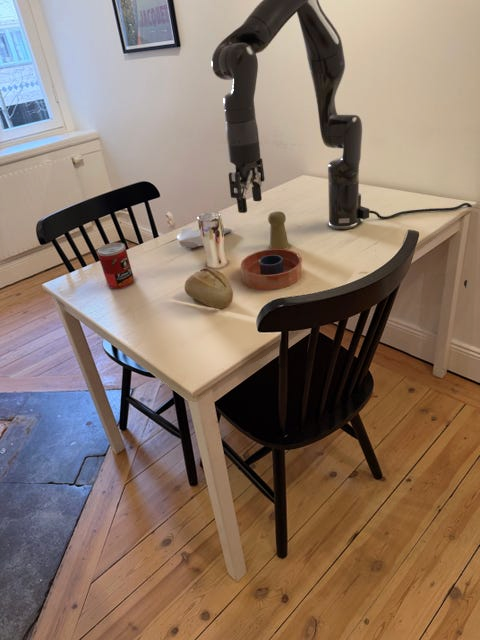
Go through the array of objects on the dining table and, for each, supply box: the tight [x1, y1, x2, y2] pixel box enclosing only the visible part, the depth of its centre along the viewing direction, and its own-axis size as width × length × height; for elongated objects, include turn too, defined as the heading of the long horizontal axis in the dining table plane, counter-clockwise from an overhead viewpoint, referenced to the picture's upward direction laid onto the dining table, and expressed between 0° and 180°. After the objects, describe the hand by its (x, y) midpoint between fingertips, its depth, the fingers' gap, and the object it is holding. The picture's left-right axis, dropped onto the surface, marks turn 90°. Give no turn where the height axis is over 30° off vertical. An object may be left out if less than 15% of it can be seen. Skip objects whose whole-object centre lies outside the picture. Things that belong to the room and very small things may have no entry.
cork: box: [267, 210, 289, 249], centre depth 140 cm, size 6×6×11 cm
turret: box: [176, 227, 232, 249], centre depth 153 cm, size 10×20×5 cm, turn 136°
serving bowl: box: [240, 248, 304, 291], centre depth 126 cm, size 16×16×5 cm
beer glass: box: [197, 211, 228, 269], centre depth 134 cm, size 7×7×15 cm
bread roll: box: [184, 267, 234, 310], centre depth 118 cm, size 10×15×8 cm, turn 46°
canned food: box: [97, 242, 135, 290], centre depth 132 cm, size 8×8×11 cm
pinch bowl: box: [259, 255, 284, 275], centre depth 125 cm, size 6×6×5 cm
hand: (250, 206), depth 119 cm, fingers open, 8 cm apart
